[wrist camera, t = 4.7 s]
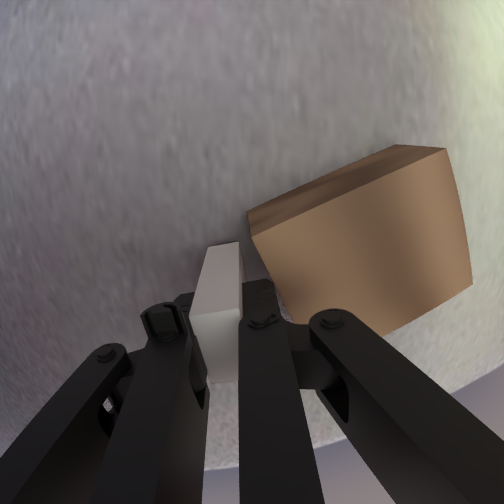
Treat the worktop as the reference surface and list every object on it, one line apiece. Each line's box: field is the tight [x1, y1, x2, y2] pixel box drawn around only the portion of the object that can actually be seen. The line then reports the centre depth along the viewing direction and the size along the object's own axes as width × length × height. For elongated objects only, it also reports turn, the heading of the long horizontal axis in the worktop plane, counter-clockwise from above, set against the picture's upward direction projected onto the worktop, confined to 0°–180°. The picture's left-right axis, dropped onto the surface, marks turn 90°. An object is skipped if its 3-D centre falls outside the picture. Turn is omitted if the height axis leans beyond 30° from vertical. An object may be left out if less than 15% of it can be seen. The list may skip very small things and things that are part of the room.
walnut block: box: [247, 145, 473, 337], centre depth 15 cm, size 9×7×5 cm
